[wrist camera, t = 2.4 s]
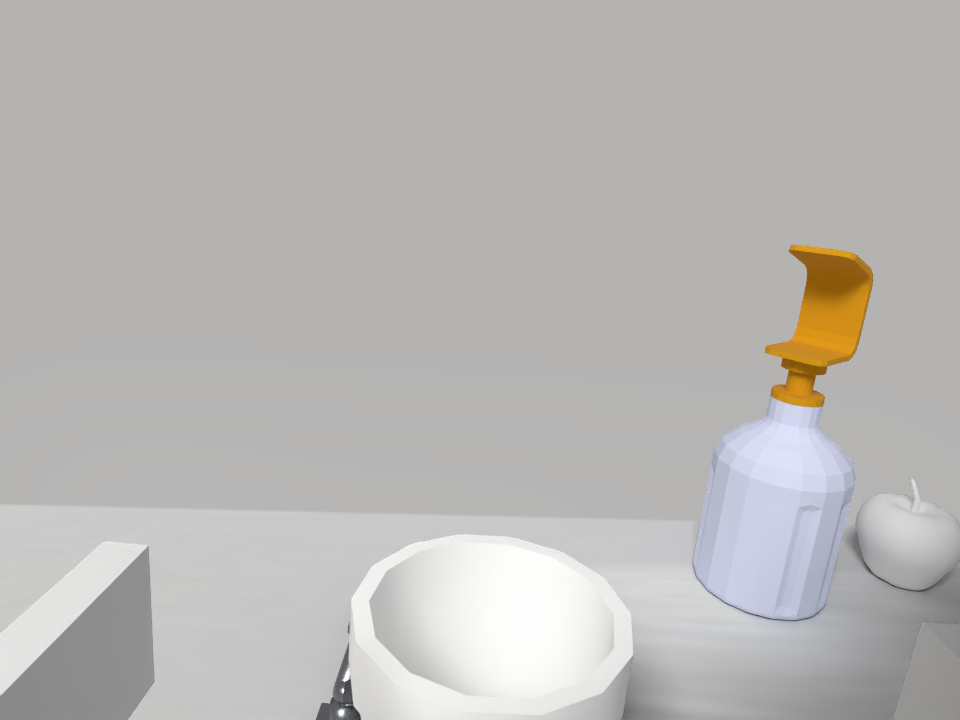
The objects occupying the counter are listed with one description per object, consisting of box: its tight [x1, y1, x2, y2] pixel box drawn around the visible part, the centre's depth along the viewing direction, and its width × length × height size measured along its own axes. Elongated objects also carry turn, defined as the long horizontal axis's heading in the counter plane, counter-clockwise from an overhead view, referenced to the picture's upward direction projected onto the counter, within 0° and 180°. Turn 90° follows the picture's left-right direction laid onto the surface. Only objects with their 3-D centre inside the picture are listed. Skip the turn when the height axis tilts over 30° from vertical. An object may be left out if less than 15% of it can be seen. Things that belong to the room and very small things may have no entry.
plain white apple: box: [855, 478, 960, 591], centre depth 50 cm, size 7×7×8 cm
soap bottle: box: [693, 245, 873, 620], centre depth 46 cm, size 9×9×25 cm
